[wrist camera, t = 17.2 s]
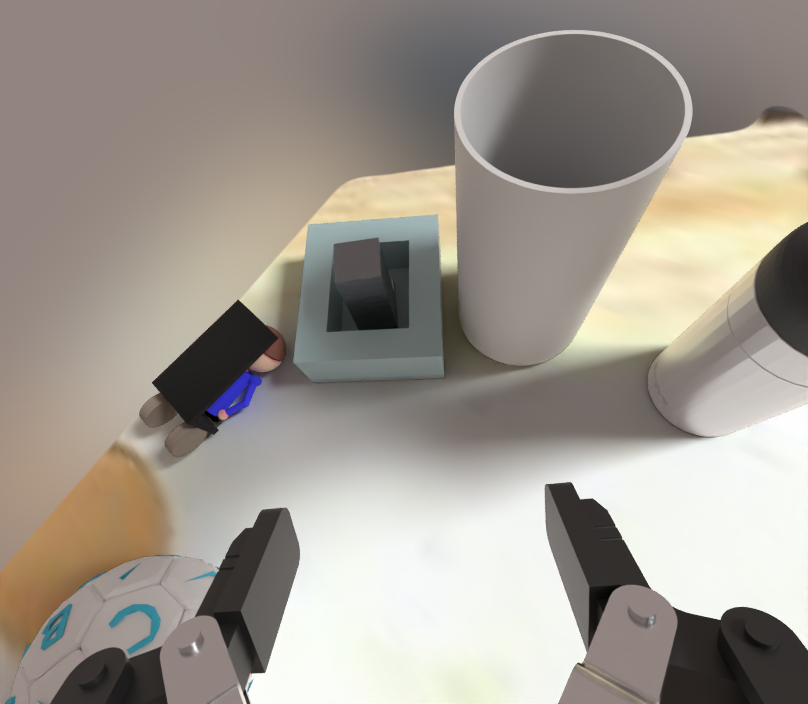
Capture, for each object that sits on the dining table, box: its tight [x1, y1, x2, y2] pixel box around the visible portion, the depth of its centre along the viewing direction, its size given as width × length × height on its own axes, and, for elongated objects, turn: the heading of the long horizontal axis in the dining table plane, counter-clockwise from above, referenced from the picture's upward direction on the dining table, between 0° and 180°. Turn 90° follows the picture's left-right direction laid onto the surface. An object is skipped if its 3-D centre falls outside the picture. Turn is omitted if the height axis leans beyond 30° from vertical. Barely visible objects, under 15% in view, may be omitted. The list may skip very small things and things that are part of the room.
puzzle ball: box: [5, 555, 254, 704], centre depth 32 cm, size 15×15×15 cm
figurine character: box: [139, 300, 286, 457], centre depth 45 cm, size 7×8×15 cm
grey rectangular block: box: [334, 237, 399, 331], centre depth 43 cm, size 6×4×11 cm, turn 5°
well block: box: [293, 215, 444, 383], centre depth 47 cm, size 14×16×6 cm
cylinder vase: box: [454, 30, 692, 366], centre depth 36 cm, size 12×12×25 cm
